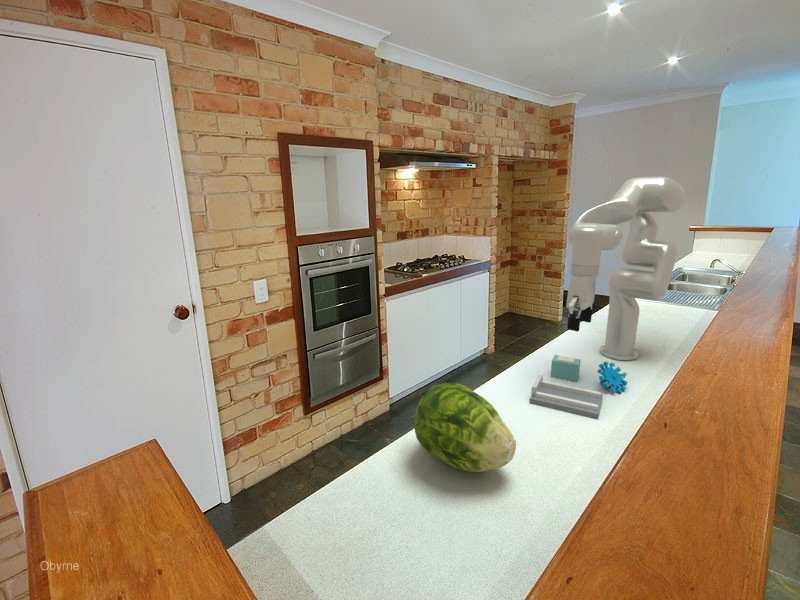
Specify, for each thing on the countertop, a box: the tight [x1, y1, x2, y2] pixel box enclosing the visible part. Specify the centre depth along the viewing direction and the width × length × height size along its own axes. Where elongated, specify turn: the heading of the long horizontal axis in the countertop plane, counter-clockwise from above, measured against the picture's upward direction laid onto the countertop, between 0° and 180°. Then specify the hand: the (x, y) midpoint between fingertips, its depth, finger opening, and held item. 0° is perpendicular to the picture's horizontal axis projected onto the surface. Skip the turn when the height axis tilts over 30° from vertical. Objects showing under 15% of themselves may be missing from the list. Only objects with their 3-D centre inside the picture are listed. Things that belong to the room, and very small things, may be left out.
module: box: [550, 354, 582, 383], centre depth 130 cm, size 5×8×6 cm, turn 59°
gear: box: [596, 361, 628, 394], centre depth 123 cm, size 11×6×10 cm
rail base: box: [529, 374, 604, 420], centre depth 116 cm, size 12×18×4 cm, turn 59°
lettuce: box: [413, 382, 517, 473], centre depth 90 cm, size 18×23×19 cm
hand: (579, 325), depth 120 cm, fingers open, 9 cm apart
